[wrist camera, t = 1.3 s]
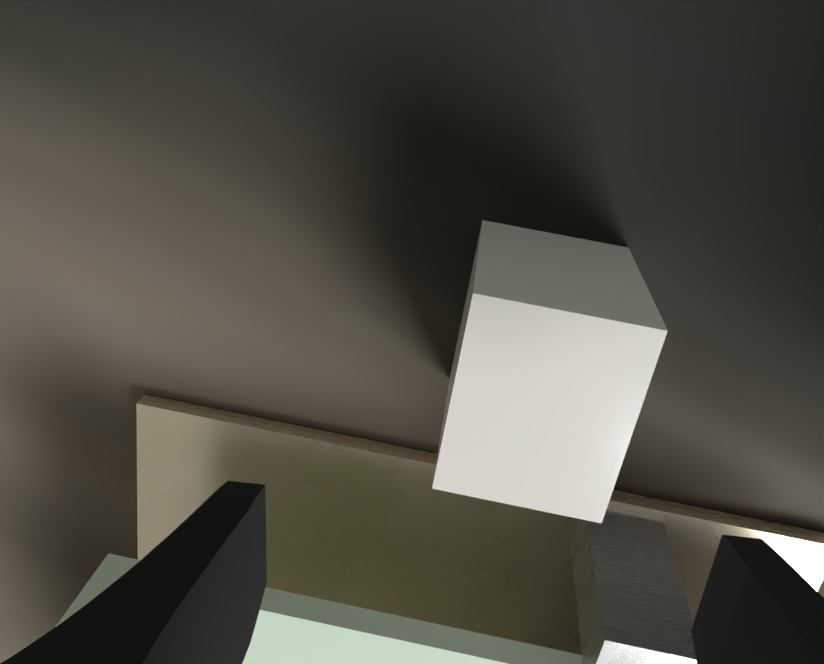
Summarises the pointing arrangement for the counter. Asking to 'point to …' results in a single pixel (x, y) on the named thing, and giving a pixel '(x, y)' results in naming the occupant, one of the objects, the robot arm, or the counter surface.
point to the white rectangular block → (547, 372)
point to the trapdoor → (349, 632)
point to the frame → (448, 537)
